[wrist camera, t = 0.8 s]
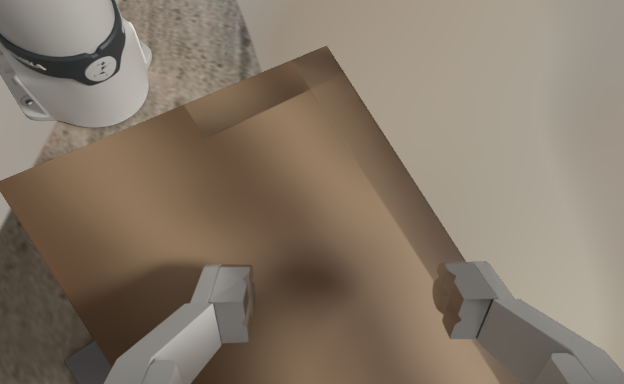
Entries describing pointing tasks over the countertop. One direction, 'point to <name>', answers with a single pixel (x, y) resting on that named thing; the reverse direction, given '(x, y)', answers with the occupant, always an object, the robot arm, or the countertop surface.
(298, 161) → the shelf
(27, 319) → the countertop surface
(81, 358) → the mat
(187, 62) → the countertop surface
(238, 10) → the countertop surface
